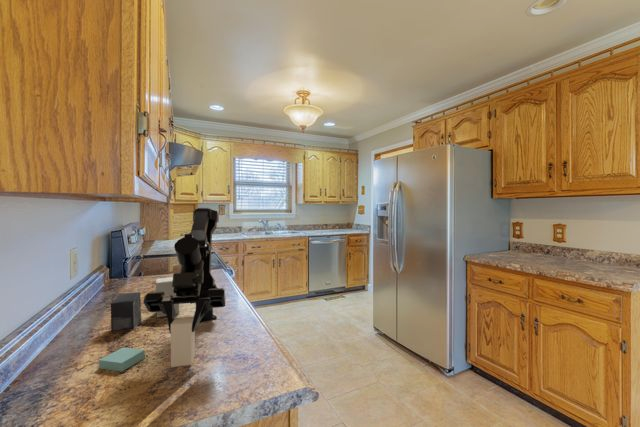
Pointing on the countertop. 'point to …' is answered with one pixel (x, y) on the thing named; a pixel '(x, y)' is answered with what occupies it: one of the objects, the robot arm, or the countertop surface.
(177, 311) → the supplement box
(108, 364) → the teal square slab
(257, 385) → the countertop surface
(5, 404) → the countertop surface
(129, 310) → the small box
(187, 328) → the cream column
